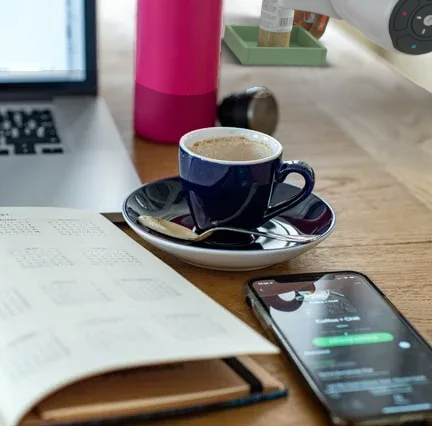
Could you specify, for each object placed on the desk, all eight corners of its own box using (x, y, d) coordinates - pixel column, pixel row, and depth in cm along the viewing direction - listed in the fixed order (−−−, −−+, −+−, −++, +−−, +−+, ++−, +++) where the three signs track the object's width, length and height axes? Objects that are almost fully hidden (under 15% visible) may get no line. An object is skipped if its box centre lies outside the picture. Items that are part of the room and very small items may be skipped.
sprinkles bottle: (280, 46, 124) (294, -52, 117) (294, 56, 120) (309, -45, 113) (250, 47, 122) (262, -52, 116) (263, 57, 119) (276, -45, 112)
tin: (269, 19, 137) (283, -35, 134) (287, 22, 138) (302, -32, 134) (304, 48, 124) (320, -12, 121) (324, 51, 125) (341, -8, 121)
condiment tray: (298, 44, 127) (301, 25, 126) (324, 68, 117) (327, 49, 116) (223, 43, 126) (225, 24, 124) (242, 67, 116) (244, 47, 114)
